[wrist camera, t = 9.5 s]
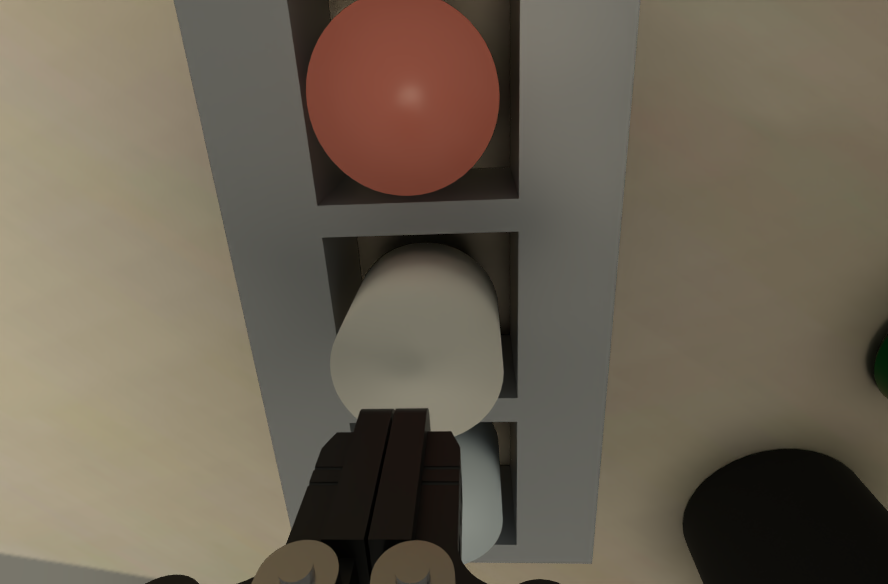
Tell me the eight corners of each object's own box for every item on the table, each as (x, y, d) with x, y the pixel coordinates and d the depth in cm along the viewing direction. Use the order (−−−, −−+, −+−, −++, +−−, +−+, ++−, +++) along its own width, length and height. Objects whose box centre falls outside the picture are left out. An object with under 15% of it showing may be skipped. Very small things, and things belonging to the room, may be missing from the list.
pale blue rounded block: (497, 395, 22) (502, 466, 18) (498, 488, 24) (502, 568, 20) (378, 397, 22) (359, 466, 18) (389, 488, 24) (373, 567, 20)
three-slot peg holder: (607, -64, 17) (648, -97, 13) (573, 481, 26) (592, 563, 22) (232, -38, 18) (159, -63, 14) (325, 481, 27) (298, 560, 23)
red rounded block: (493, -3, 16) (498, -17, 12) (495, 162, 18) (500, 192, 14) (332, 6, 16) (291, -4, 13) (351, 168, 18) (320, 199, 15)
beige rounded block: (497, 240, 18) (503, 291, 14) (498, 367, 20) (503, 441, 16) (350, 244, 18) (318, 295, 14) (366, 369, 20) (341, 442, 16)
